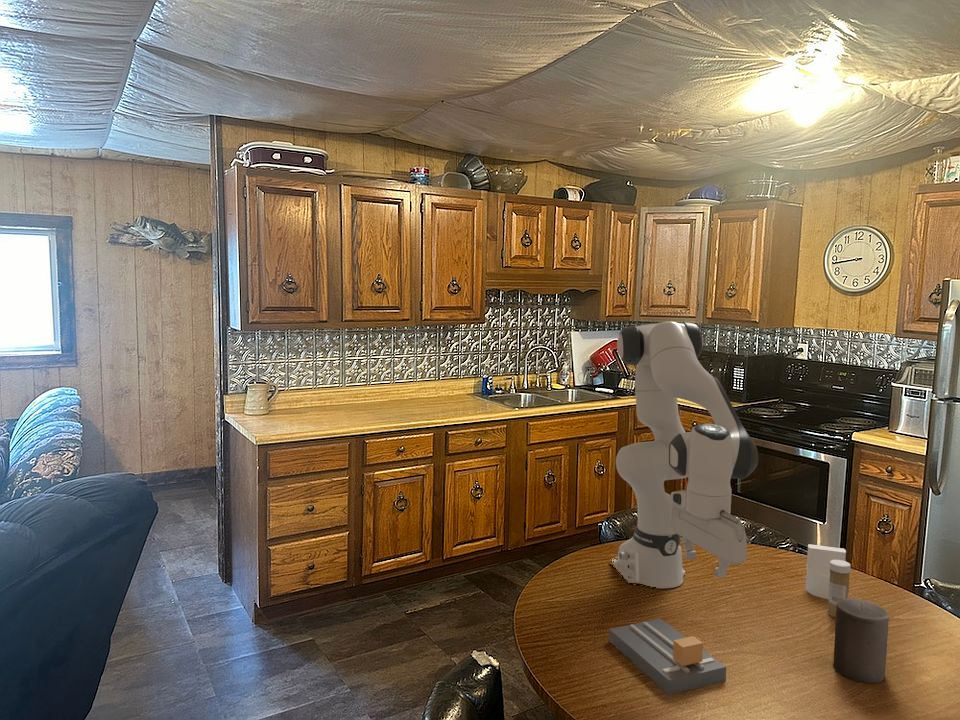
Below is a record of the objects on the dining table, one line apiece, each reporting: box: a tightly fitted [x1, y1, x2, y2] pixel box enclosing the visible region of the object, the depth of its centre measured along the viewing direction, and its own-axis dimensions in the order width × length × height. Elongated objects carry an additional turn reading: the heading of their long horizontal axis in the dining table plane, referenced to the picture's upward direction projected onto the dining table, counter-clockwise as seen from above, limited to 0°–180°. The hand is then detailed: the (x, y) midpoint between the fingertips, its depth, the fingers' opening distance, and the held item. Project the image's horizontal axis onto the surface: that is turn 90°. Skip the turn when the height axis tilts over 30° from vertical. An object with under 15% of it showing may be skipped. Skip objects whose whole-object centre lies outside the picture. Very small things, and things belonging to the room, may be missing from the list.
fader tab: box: [673, 635, 704, 666], centre depth 138 cm, size 3×5×5 cm, turn 111°
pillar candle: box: [832, 598, 890, 684], centre depth 141 cm, size 10×10×15 cm
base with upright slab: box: [805, 543, 847, 600], centre depth 179 cm, size 9×9×12 cm
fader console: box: [608, 618, 727, 696], centre depth 145 cm, size 22×14×4 cm, turn 21°
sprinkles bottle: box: [827, 560, 852, 619], centre depth 166 cm, size 5×5×14 cm
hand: (704, 567), depth 141 cm, fingers open, 8 cm apart
